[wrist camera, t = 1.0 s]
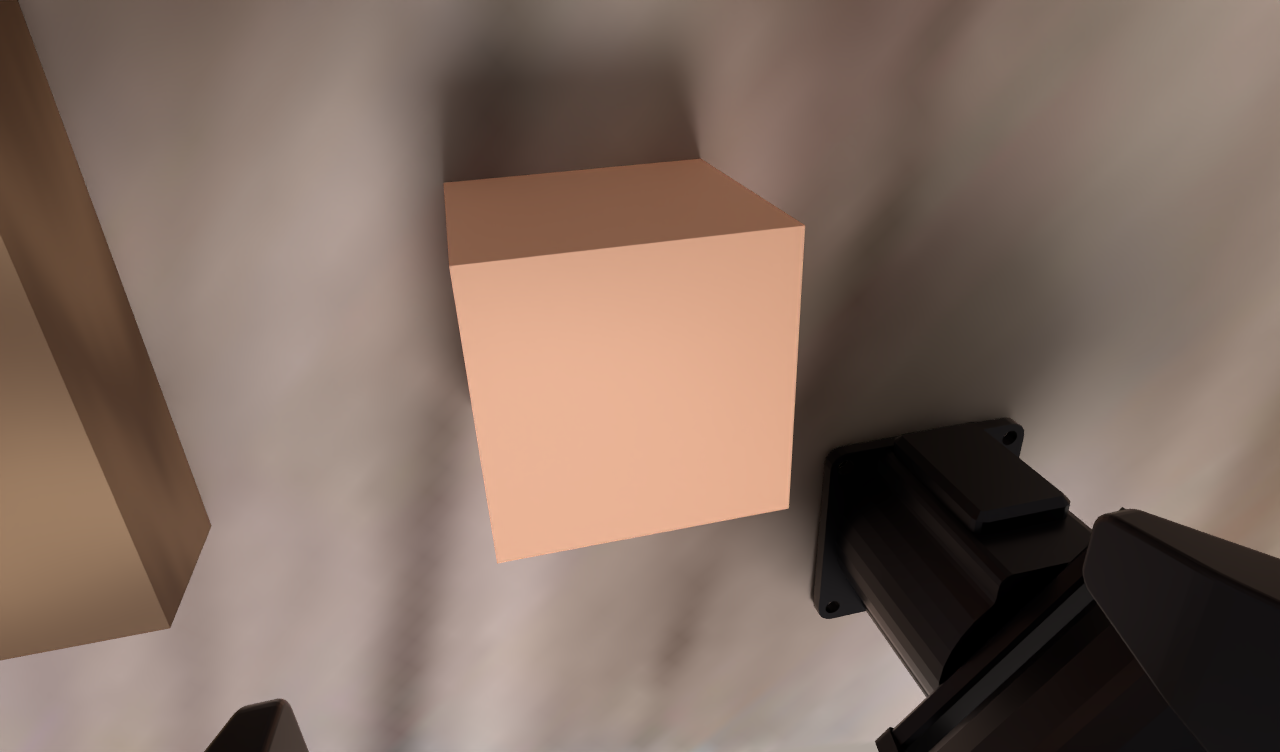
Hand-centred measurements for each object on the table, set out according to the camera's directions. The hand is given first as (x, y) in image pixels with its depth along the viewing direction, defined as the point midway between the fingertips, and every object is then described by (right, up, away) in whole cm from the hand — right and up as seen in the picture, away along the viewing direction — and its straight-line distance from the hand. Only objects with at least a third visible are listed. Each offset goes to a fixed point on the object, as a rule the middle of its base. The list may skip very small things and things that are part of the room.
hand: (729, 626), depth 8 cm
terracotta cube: (-2, +5, +11) cm, 12 cm away
